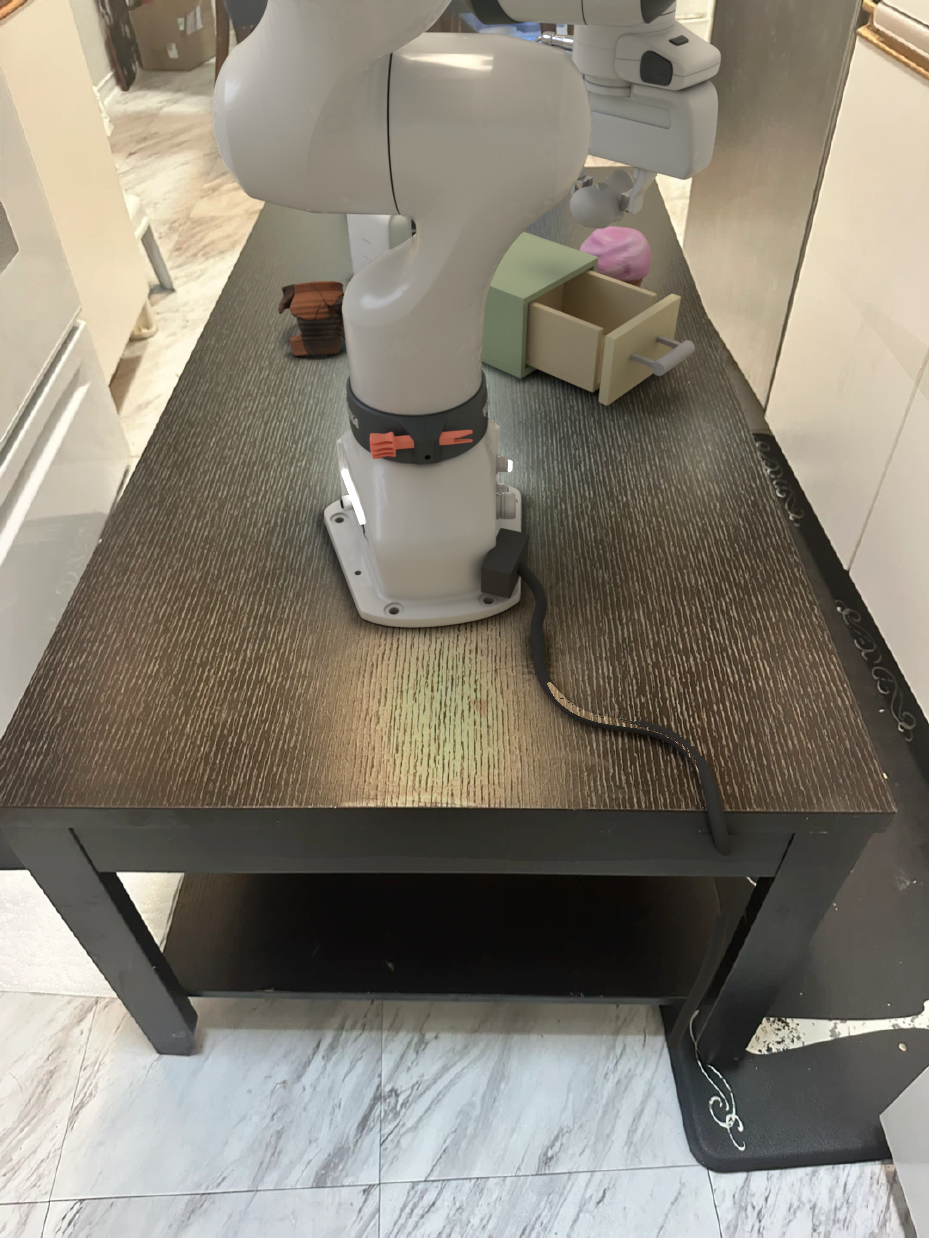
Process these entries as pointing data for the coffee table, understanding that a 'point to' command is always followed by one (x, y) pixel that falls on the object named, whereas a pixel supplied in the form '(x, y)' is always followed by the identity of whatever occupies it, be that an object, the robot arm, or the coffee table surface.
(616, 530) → the coffee table surface
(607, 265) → the cupcake
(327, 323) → the pottery mug
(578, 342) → the drawer
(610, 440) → the coffee table surface
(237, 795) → the coffee table surface
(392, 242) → the photo printer
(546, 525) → the coffee table surface
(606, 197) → the smooth white sculpture
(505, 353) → the cabinet
